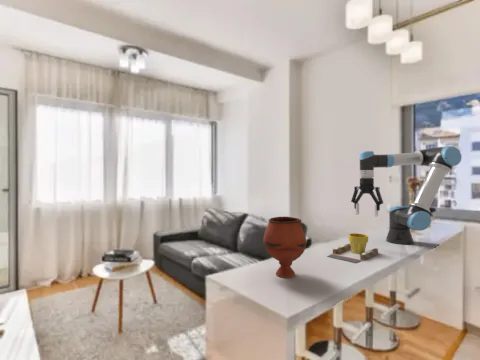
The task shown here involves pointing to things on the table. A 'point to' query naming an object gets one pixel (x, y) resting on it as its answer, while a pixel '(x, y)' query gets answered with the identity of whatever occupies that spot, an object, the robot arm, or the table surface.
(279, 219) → the goblet
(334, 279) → the table surface
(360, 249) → the plant pot
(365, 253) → the pair of brown bars
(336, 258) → the mat
